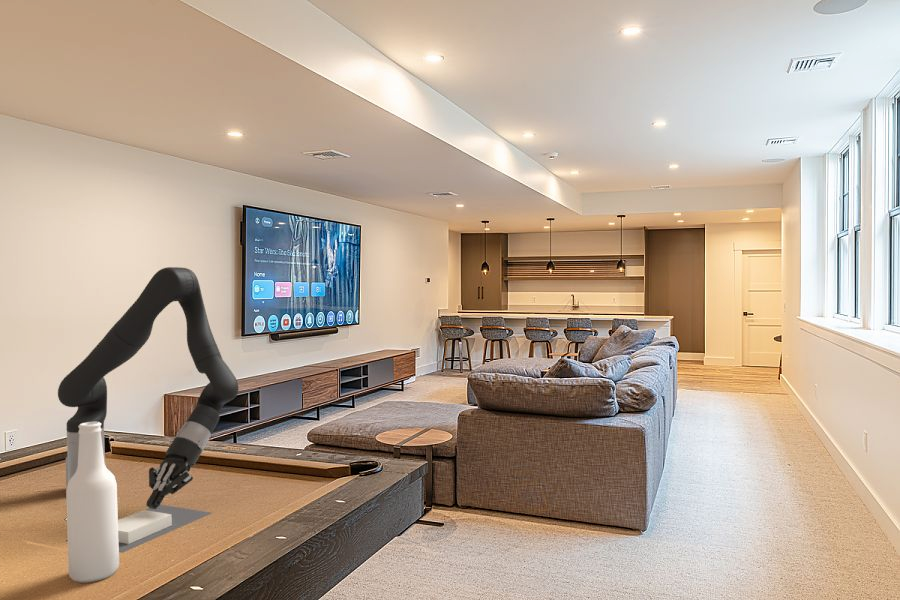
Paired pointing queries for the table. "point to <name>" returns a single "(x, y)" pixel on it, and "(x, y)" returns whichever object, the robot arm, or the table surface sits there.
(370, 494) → the table surface
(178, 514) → the mat
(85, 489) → the alcohol
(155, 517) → the tile
